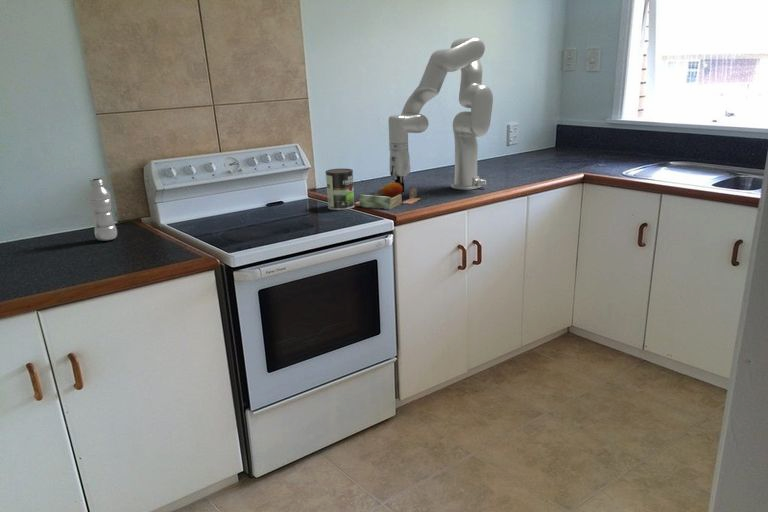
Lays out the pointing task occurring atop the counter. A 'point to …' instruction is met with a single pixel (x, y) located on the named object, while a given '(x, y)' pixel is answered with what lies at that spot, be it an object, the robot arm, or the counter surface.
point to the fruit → (392, 189)
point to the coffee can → (340, 189)
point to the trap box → (384, 199)
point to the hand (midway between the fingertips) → (400, 192)
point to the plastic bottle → (102, 210)
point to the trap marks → (409, 201)
